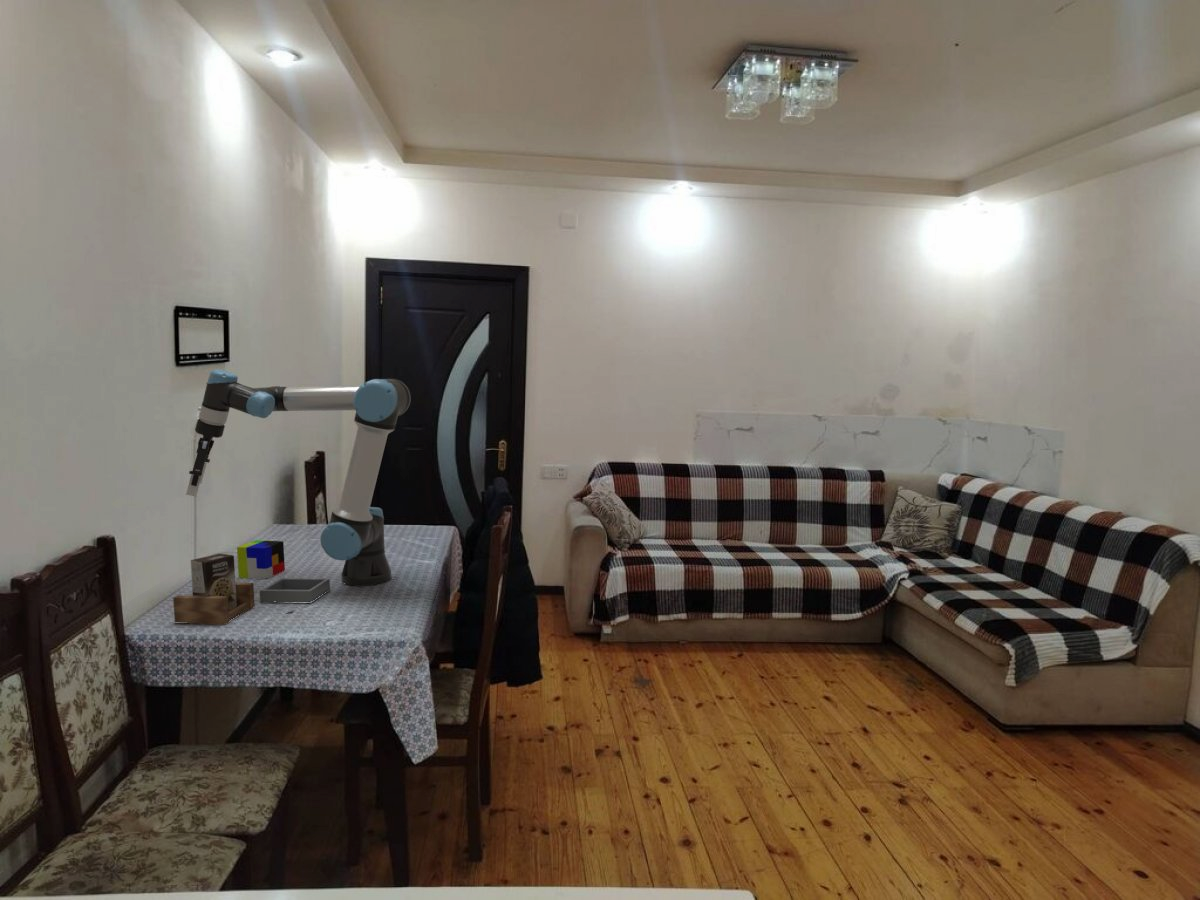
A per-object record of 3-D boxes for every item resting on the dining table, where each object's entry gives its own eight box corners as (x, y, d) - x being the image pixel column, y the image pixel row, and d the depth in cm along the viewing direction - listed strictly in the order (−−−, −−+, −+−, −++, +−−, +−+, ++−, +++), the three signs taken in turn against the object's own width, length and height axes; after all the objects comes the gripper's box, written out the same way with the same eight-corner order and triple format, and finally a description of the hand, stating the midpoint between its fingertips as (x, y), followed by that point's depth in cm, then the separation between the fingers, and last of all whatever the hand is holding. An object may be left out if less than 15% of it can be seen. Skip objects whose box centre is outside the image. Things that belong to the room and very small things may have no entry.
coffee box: (208, 621, 215) (204, 562, 214) (193, 618, 218) (189, 559, 217) (238, 612, 223) (234, 554, 221) (223, 608, 226) (219, 552, 225)
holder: (254, 607, 228) (253, 582, 227) (225, 624, 213) (223, 598, 212) (207, 606, 229) (205, 582, 228) (174, 623, 214) (173, 597, 213)
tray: (330, 590, 243) (329, 578, 243) (310, 603, 230) (310, 591, 230) (282, 589, 244) (281, 578, 244) (260, 602, 232) (259, 590, 231)
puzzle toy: (266, 579, 257) (264, 548, 256) (238, 577, 259) (236, 547, 258) (285, 571, 267) (283, 541, 266) (257, 569, 269) (256, 540, 268)
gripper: (202, 409, 249) (185, 474, 252) (192, 427, 227) (174, 498, 230) (228, 416, 252) (211, 479, 255) (221, 434, 230) (202, 503, 232)
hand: (193, 488), depth 242 cm, fingers open, 13 cm apart
